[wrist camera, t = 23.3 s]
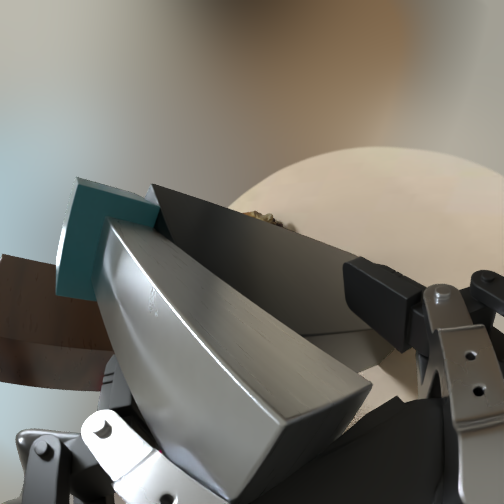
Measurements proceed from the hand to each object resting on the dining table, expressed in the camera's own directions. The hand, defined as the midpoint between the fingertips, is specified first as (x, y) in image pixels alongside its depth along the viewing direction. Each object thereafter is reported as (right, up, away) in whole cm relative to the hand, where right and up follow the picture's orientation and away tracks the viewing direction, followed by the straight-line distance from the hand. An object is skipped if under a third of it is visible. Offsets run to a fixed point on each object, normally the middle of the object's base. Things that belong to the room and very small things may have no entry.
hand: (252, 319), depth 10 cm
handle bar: (-3, +1, 0) cm, 3 cm away
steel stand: (+12, -3, +16) cm, 20 cm away
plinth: (-1, -10, +28) cm, 30 cm away
